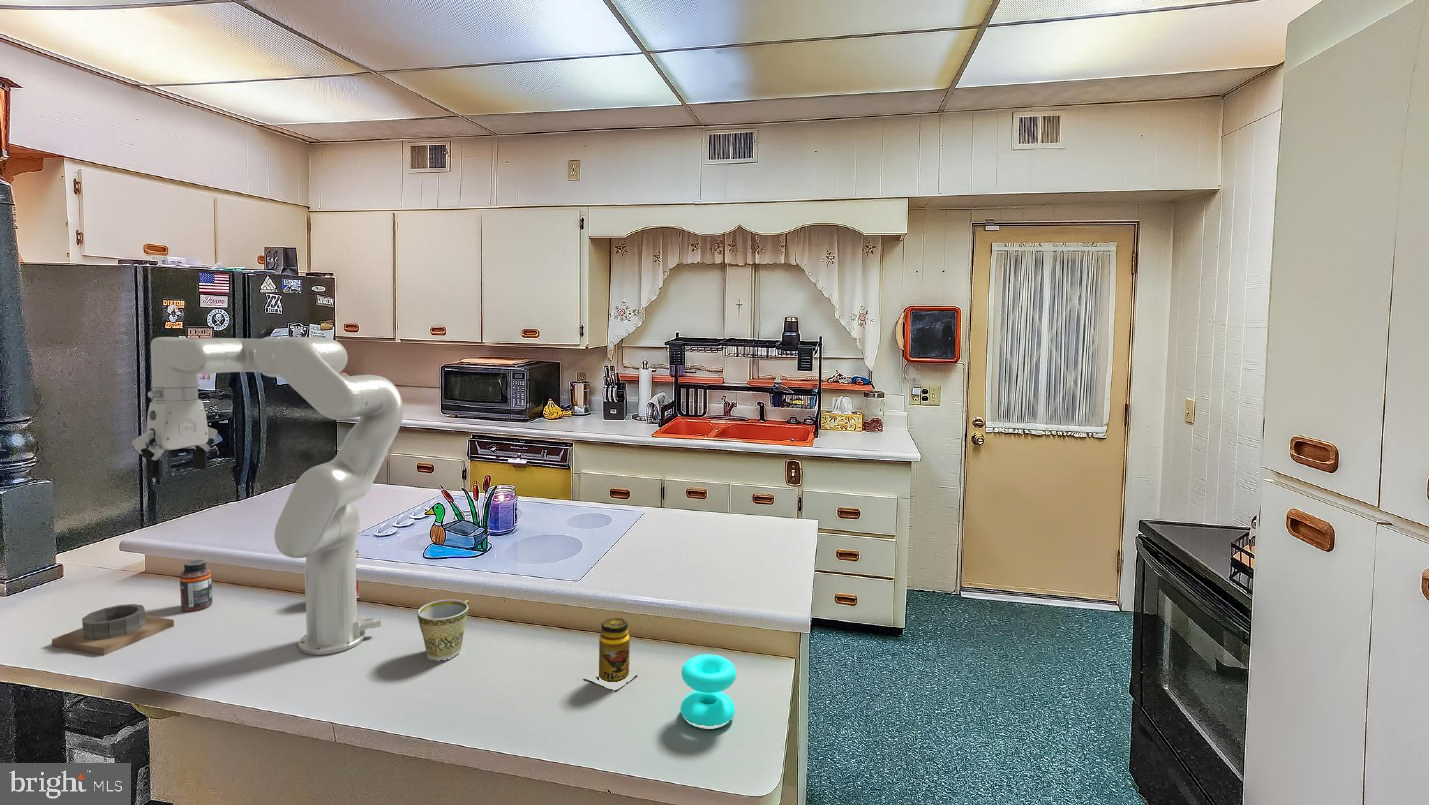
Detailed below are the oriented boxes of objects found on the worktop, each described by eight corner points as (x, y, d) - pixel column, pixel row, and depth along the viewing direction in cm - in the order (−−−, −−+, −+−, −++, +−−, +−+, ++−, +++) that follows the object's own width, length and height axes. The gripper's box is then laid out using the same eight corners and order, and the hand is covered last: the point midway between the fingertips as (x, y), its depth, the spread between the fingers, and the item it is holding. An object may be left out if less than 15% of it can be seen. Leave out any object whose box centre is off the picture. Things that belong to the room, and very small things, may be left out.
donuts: (670, 664, 118) (707, 646, 125) (668, 716, 119) (705, 695, 126) (711, 685, 111) (747, 665, 118) (709, 740, 112) (745, 716, 119)
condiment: (616, 692, 126) (617, 633, 125) (582, 679, 130) (583, 622, 129) (638, 676, 132) (639, 619, 131) (605, 664, 136) (606, 609, 135)
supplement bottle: (179, 606, 157) (177, 561, 156) (210, 600, 161) (208, 555, 160) (182, 614, 153) (180, 568, 151) (214, 607, 157) (212, 562, 156)
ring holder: (125, 618, 150) (124, 597, 149) (173, 626, 147) (172, 604, 146) (52, 646, 136) (50, 623, 136) (104, 655, 133) (102, 632, 133)
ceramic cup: (445, 669, 132) (445, 622, 131) (407, 660, 135) (406, 614, 134) (487, 641, 144) (487, 598, 143) (451, 633, 148) (450, 591, 146)
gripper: (147, 399, 130) (150, 483, 132) (227, 393, 147) (229, 467, 148) (117, 397, 131) (120, 479, 133) (200, 390, 148) (202, 464, 150)
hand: (178, 473), depth 141 cm, fingers open, 9 cm apart
